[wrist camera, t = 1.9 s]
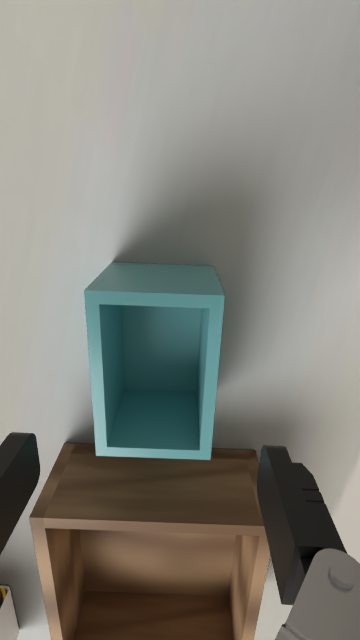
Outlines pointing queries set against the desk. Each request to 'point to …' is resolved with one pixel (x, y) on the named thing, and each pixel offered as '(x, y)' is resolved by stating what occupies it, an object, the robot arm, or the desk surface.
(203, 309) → the small teal crate
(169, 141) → the desk surface
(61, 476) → the walnut crate
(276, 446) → the robot arm
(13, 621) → the medicine bottle
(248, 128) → the desk surface
